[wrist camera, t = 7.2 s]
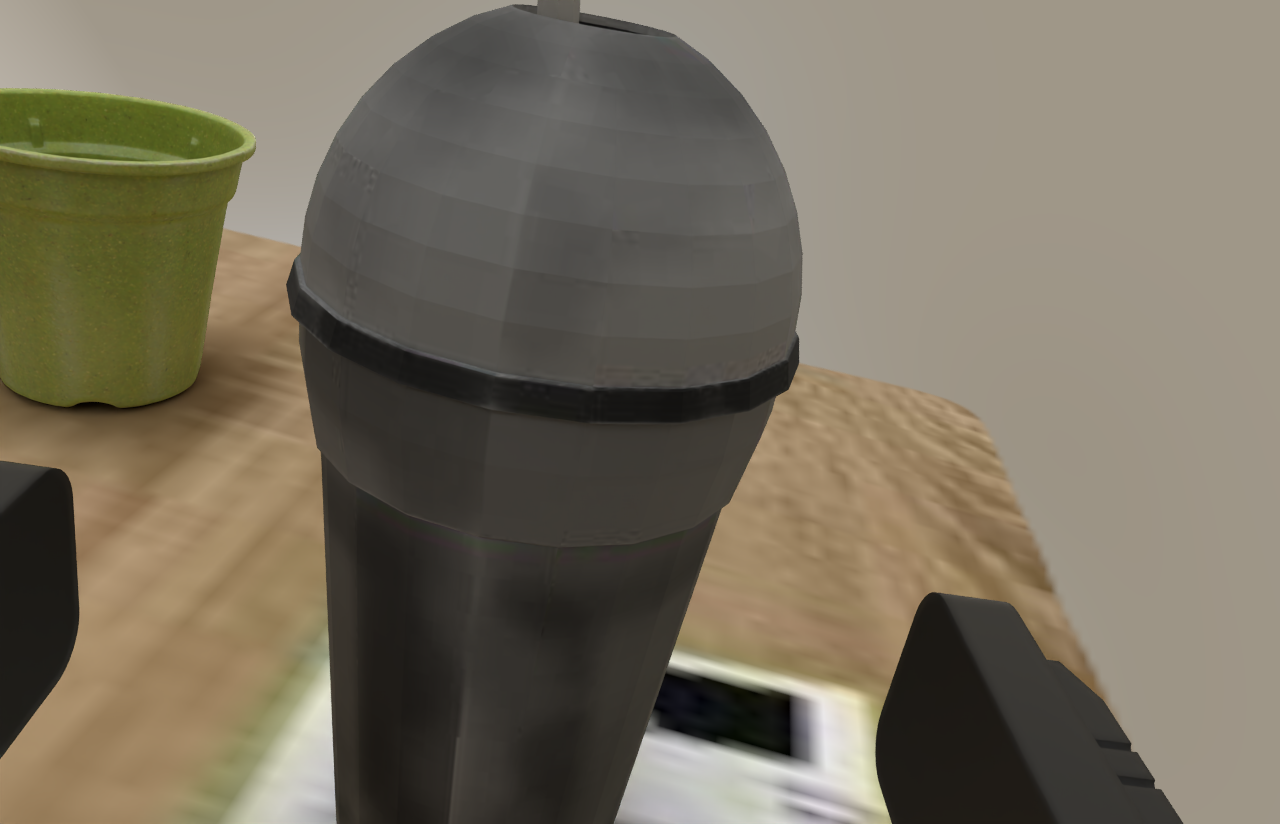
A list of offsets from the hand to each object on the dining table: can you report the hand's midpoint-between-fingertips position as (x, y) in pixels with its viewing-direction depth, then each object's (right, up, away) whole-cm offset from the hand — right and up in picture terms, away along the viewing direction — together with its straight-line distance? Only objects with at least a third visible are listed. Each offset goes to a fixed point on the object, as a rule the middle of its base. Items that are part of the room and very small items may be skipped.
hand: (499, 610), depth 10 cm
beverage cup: (-2, -7, +10) cm, 12 cm away
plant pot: (-17, +3, +26) cm, 31 cm away
